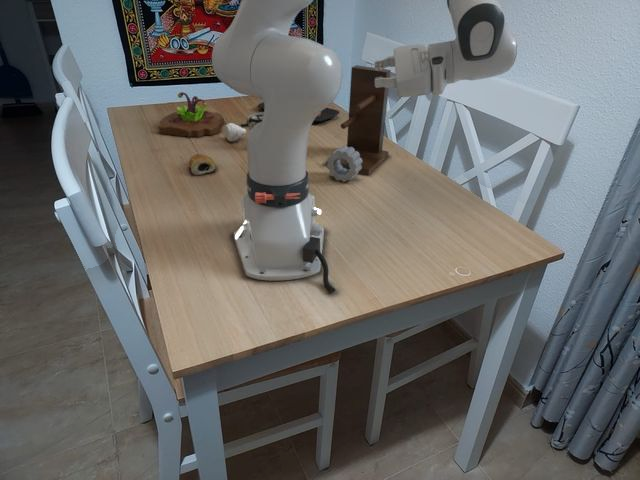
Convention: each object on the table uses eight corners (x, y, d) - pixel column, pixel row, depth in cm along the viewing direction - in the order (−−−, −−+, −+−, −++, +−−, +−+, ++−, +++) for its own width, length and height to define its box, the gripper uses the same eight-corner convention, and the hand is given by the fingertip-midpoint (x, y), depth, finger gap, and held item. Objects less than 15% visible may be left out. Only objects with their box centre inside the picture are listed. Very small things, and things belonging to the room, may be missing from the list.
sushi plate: (342, 116, 161) (343, 105, 159) (291, 140, 140) (291, 128, 138) (279, 101, 174) (278, 91, 172) (224, 121, 153) (223, 110, 151)
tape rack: (368, 175, 120) (376, 83, 107) (326, 165, 125) (330, 76, 111) (388, 156, 131) (397, 70, 118) (349, 148, 136) (354, 64, 123)
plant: (172, 116, 157) (167, 83, 151) (228, 118, 156) (225, 85, 150) (152, 136, 140) (145, 100, 134) (214, 138, 140) (210, 102, 134)
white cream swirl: (249, 141, 139) (248, 123, 136) (231, 144, 136) (229, 126, 133) (243, 135, 143) (241, 118, 140) (225, 138, 140) (223, 121, 137)
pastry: (186, 162, 124) (184, 149, 122) (211, 159, 126) (209, 146, 124) (192, 176, 117) (190, 162, 115) (218, 173, 119) (216, 159, 117)
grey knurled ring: (354, 184, 115) (357, 154, 111) (326, 177, 118) (327, 148, 114) (361, 178, 118) (363, 149, 114) (333, 172, 121) (334, 143, 117)
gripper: (432, 34, 105) (373, 43, 108) (441, 68, 90) (373, 79, 93) (432, 60, 109) (376, 69, 112) (442, 98, 94) (376, 107, 97)
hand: (374, 74), depth 102 cm, fingers open, 8 cm apart
